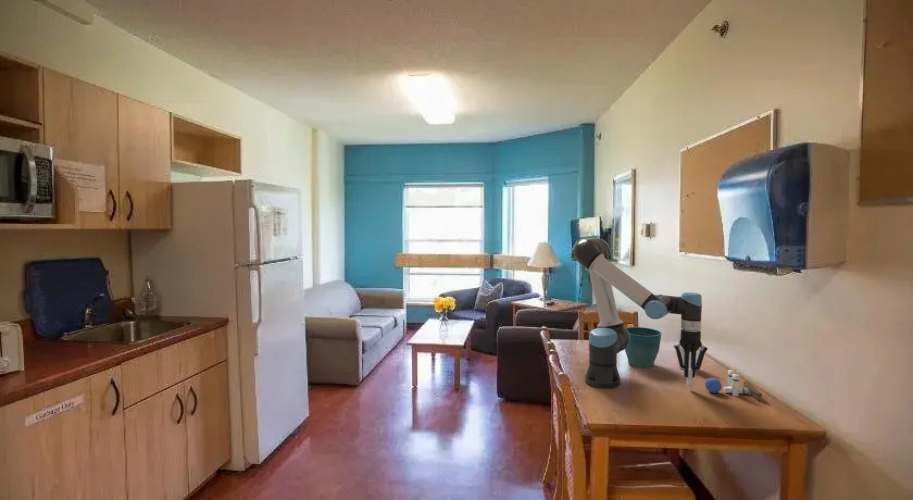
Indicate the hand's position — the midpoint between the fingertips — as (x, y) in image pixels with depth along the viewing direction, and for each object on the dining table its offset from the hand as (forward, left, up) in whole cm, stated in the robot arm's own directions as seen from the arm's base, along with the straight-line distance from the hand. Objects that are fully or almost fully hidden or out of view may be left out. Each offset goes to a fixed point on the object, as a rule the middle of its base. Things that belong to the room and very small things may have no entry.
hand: (689, 384), depth 188 cm
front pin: (+14, 0, -1) cm, 14 cm away
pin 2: (+17, -3, -2) cm, 17 cm away
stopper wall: (+24, 0, -2) cm, 24 cm away
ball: (+9, -1, +1) cm, 9 cm away
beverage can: (+7, +30, -3) cm, 31 cm away
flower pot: (-14, +32, -3) cm, 35 cm away
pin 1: (+17, +2, -2) cm, 17 cm away
